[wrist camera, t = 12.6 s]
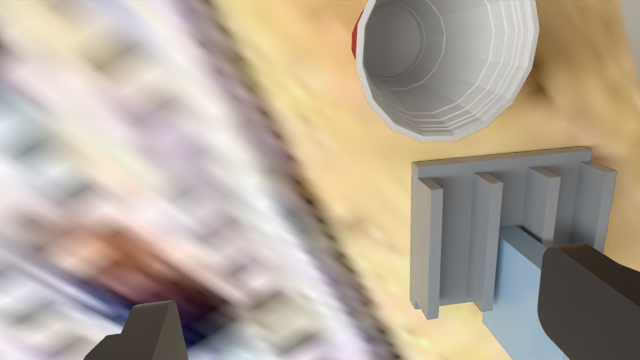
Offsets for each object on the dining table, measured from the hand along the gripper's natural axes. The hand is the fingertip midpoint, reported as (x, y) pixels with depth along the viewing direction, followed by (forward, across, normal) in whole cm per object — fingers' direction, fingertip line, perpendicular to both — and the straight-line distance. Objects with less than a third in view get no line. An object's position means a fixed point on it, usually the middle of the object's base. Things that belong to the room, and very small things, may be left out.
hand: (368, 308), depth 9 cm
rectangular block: (+26, -18, +18) cm, 36 cm away
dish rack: (+27, -18, +13) cm, 36 cm away
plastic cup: (+28, -9, -4) cm, 29 cm away
